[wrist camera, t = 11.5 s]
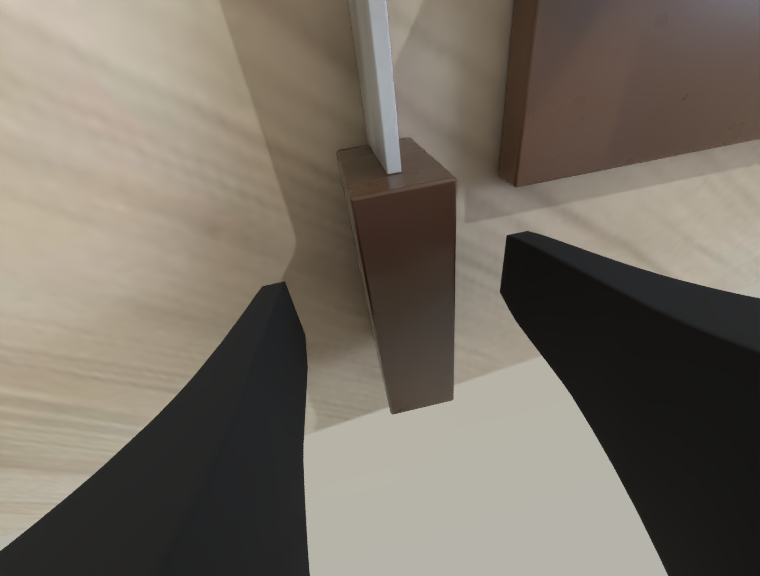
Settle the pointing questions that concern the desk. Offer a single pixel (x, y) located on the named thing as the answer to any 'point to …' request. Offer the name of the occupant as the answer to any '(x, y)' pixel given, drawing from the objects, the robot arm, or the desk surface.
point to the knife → (400, 231)
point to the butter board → (626, 83)
